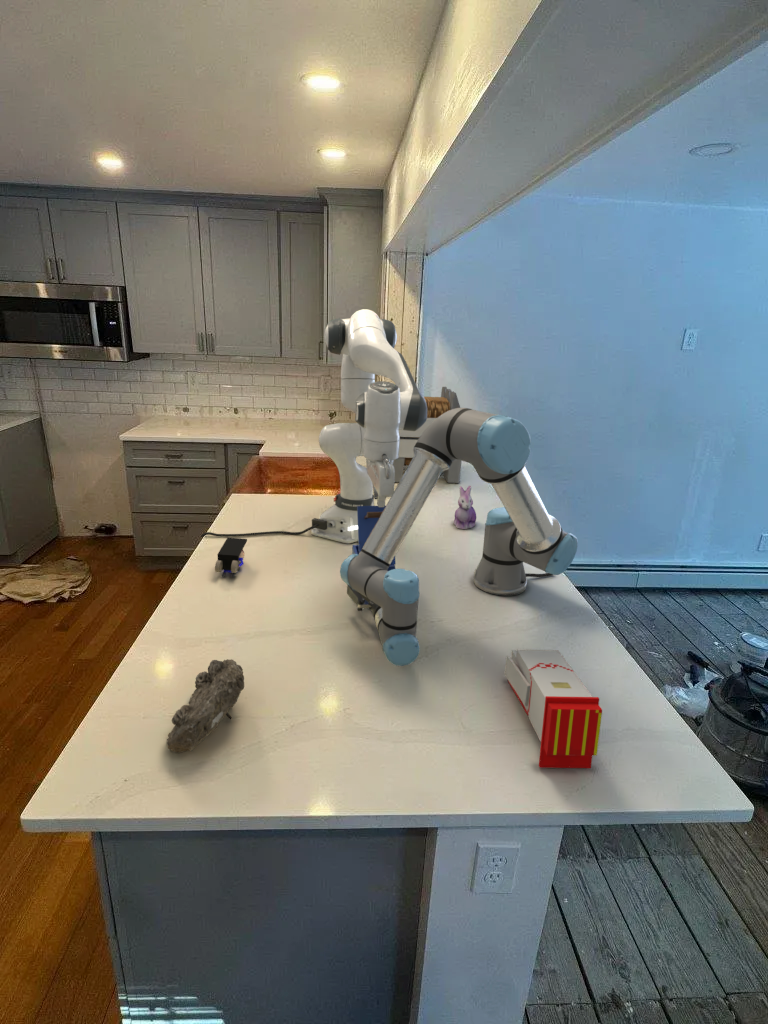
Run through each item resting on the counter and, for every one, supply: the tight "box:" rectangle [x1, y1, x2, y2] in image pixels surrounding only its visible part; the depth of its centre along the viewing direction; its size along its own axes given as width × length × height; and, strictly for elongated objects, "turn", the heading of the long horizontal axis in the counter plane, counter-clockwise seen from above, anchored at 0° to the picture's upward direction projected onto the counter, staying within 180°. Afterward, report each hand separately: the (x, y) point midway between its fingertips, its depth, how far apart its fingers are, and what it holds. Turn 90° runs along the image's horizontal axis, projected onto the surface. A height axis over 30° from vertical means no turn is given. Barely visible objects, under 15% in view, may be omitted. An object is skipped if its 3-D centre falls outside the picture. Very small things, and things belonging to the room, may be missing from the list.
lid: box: [357, 505, 397, 566], centre depth 147 cm, size 16×10×8 cm
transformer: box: [392, 386, 463, 484], centre depth 268 cm, size 34×33×41 cm
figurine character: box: [214, 537, 248, 578], centre depth 166 cm, size 7×8×15 cm
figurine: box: [453, 485, 477, 530], centre depth 208 cm, size 9×10×15 cm
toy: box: [504, 648, 603, 769], centre depth 111 cm, size 12×13×30 cm
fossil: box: [166, 658, 245, 754], centre depth 106 cm, size 22×10×15 cm
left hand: (378, 502), depth 145 cm, fingers open, 5 cm apart
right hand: (374, 574), depth 153 cm, fingers closed on chest, 9 cm apart
